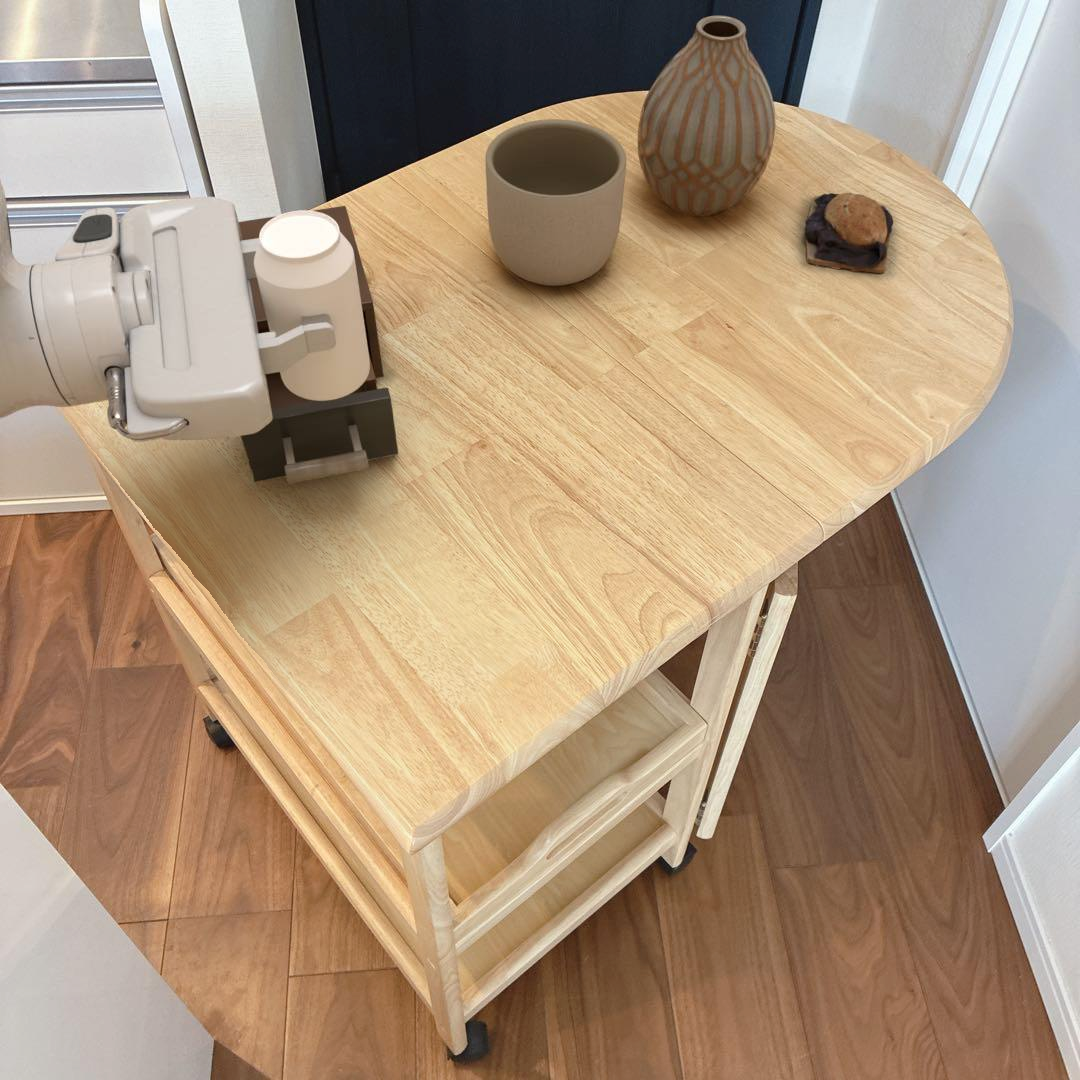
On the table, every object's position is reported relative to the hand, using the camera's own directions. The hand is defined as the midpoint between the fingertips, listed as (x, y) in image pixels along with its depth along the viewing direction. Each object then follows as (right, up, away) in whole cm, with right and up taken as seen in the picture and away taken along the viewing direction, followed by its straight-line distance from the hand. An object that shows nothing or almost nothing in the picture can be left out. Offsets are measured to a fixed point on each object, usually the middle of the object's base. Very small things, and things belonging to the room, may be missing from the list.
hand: (324, 293), depth 69 cm
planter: (+15, +11, +33) cm, 38 cm away
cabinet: (-7, +2, +25) cm, 27 cm away
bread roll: (+44, +14, +36) cm, 58 cm away
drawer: (-4, -7, +17) cm, 19 cm away
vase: (+30, +19, +39) cm, 53 cm away
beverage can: (-1, -5, +6) cm, 7 cm away
